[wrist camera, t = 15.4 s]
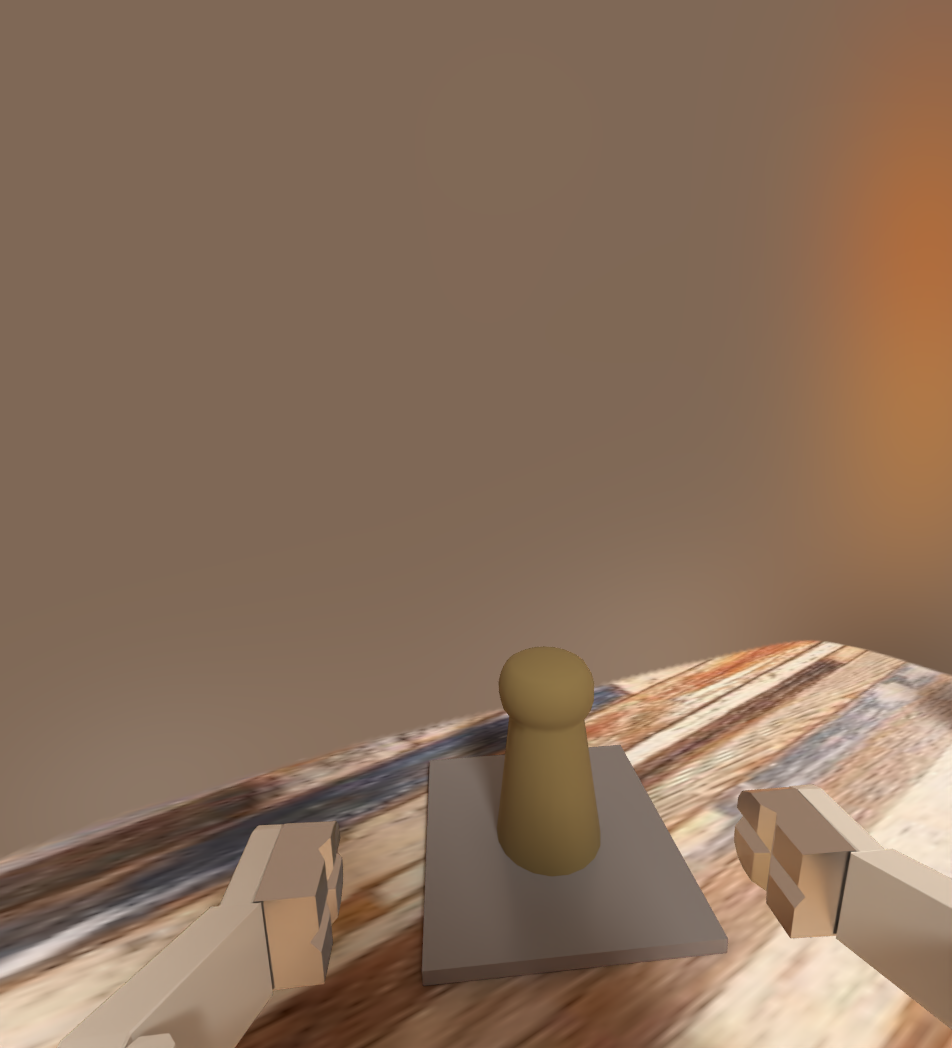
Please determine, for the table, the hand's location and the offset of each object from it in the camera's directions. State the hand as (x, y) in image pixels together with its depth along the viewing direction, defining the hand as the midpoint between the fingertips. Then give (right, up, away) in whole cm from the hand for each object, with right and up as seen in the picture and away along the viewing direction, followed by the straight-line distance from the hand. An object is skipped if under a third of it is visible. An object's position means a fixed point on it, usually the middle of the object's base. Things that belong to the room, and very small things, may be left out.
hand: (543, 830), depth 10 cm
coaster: (+3, -13, +19) cm, 23 cm away
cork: (+3, -12, +19) cm, 23 cm away
